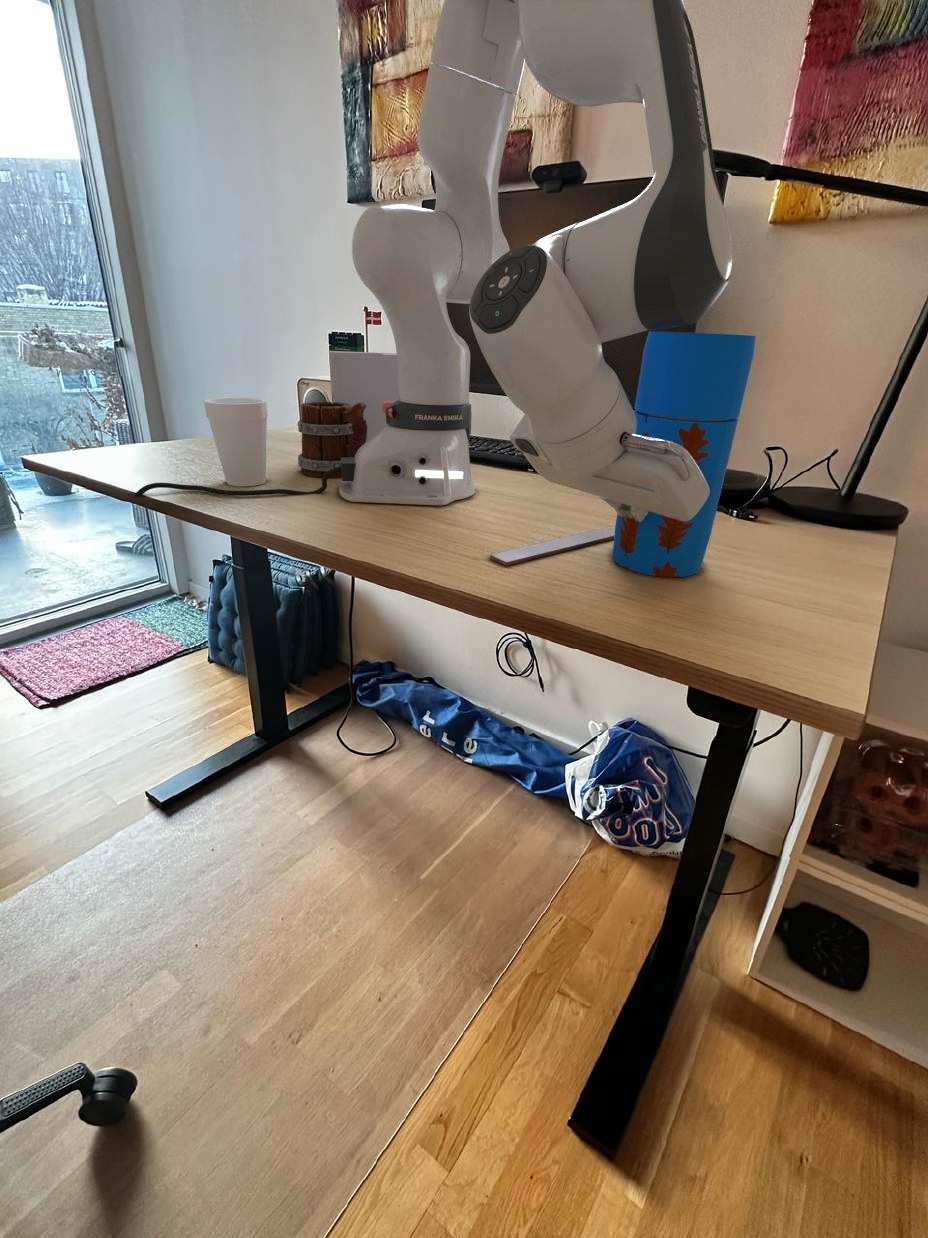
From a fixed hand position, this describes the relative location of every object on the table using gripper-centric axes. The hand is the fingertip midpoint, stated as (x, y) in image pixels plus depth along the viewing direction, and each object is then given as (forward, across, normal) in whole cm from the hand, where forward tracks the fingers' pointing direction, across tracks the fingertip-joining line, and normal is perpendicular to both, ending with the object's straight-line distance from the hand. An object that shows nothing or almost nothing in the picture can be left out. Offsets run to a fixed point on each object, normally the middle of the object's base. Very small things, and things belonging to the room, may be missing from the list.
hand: (634, 514), depth 65 cm
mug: (0, +61, +10) cm, 62 cm away
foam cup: (-12, +62, +22) cm, 67 cm away
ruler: (+8, +10, +2) cm, 13 cm away
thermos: (+9, 0, +1) cm, 9 cm away
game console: (+13, +69, -3) cm, 70 cm away
